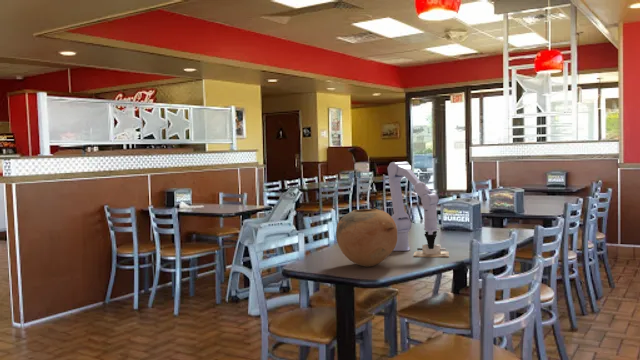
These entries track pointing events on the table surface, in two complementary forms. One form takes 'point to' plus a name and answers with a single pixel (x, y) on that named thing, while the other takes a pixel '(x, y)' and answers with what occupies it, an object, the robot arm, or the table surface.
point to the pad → (420, 254)
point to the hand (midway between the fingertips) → (431, 247)
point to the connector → (435, 250)
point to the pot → (366, 236)
